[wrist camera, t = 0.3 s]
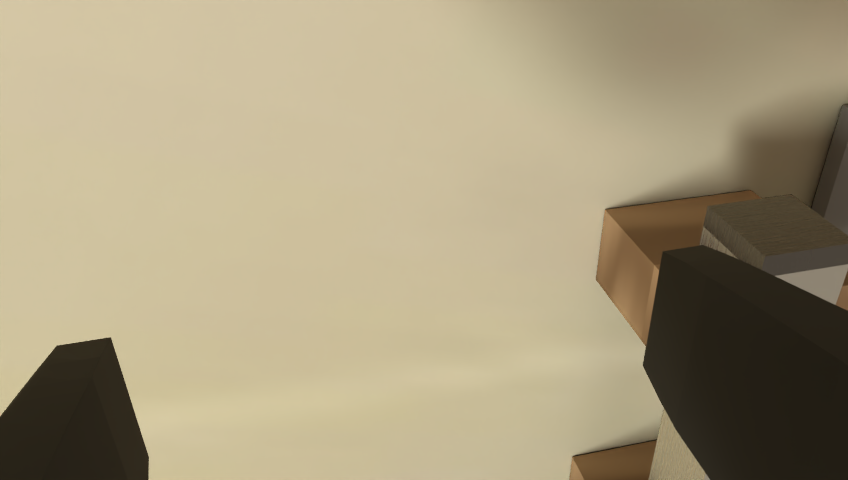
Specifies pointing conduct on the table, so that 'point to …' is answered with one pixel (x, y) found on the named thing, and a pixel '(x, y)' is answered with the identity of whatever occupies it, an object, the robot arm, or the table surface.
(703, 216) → the cradle posts
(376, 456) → the table surface
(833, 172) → the gray bar
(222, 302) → the table surface
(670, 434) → the rail
